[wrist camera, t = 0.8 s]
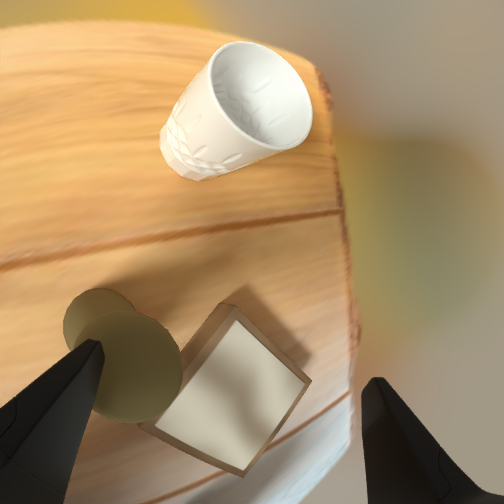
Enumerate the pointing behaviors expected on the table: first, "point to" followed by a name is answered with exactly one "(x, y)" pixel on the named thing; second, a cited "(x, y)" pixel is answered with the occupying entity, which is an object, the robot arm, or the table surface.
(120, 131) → the table surface
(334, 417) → the table surface
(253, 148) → the white cup
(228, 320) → the walnut picture frame
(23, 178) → the table surface
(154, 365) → the cork
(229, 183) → the table surface
